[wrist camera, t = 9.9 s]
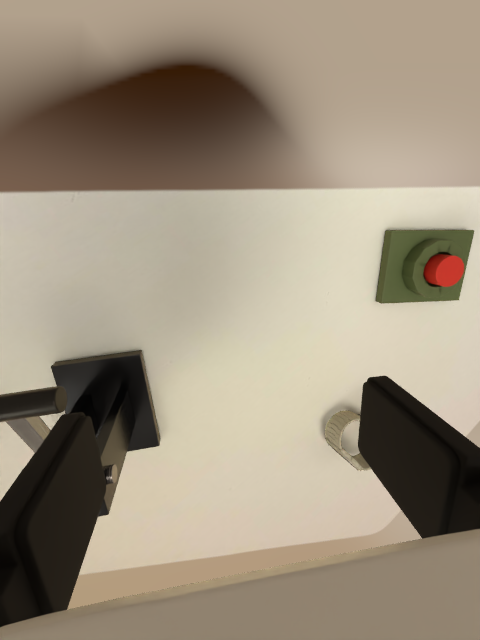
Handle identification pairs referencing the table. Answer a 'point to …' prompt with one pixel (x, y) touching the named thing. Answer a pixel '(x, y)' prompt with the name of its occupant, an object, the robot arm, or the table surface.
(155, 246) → the table surface
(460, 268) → the button
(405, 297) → the button box
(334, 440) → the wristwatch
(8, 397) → the lever
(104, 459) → the bracket
